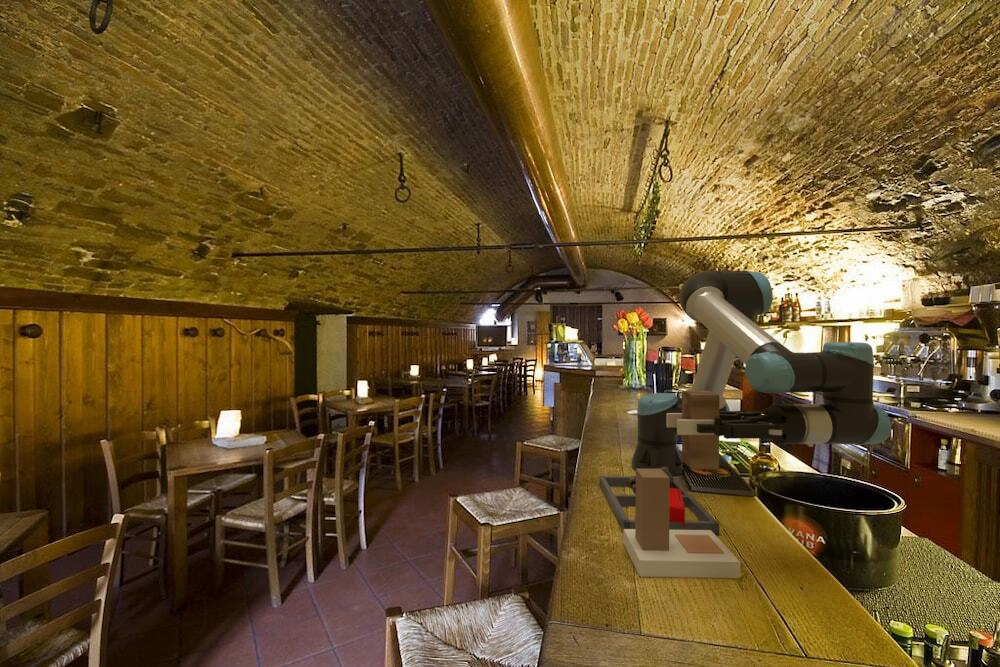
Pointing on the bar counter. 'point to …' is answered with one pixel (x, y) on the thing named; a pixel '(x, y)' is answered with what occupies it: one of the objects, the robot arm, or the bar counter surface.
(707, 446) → the walnut pillar
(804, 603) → the bar counter surface
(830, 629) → the bar counter surface
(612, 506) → the charcoal tray rim
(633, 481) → the chocolate cake
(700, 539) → the base board
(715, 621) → the bar counter surface
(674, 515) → the french fries container
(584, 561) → the bar counter surface
